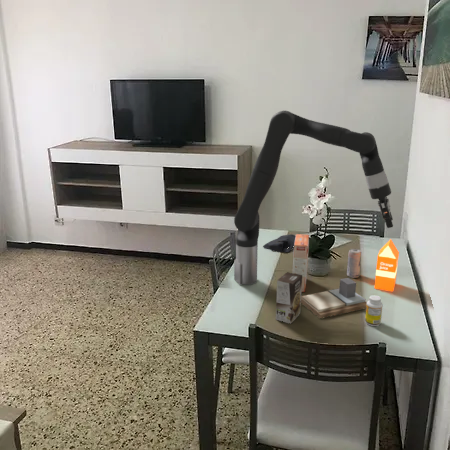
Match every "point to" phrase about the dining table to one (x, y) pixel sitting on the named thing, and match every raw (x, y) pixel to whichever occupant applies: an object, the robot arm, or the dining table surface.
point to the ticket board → (328, 304)
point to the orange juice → (386, 267)
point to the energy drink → (354, 263)
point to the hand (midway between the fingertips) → (390, 223)
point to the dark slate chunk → (281, 243)
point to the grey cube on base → (348, 292)
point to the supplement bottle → (373, 311)
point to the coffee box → (288, 297)
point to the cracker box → (301, 257)
